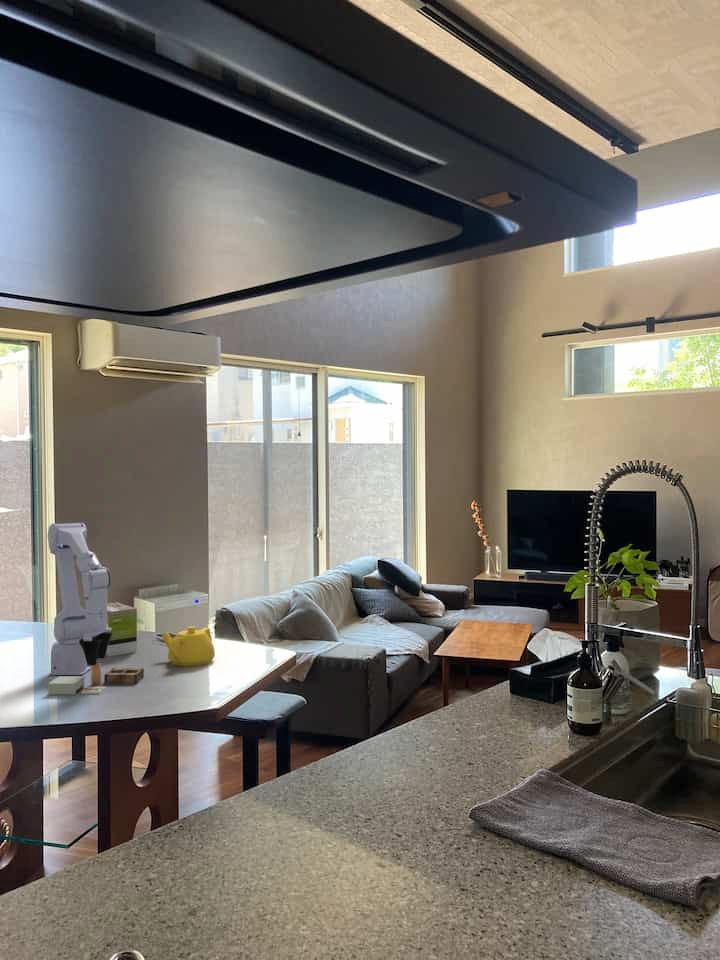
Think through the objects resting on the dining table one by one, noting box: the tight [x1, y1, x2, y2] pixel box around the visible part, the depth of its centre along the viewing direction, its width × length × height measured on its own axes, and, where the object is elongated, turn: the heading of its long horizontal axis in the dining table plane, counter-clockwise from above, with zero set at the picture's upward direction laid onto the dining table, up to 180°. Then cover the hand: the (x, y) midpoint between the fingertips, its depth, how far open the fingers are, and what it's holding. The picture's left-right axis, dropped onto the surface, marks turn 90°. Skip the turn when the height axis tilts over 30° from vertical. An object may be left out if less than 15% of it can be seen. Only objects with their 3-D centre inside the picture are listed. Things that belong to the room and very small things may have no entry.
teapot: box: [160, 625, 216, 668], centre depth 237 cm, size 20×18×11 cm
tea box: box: [105, 602, 138, 657], centre depth 250 cm, size 15×10×15 cm
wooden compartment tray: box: [104, 667, 145, 685], centre depth 214 cm, size 9×7×2 cm
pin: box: [90, 661, 102, 687], centre depth 210 cm, size 2×2×6 cm
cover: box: [48, 675, 86, 696], centre depth 203 cm, size 7×7×3 cm
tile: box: [80, 686, 107, 695], centre depth 203 cm, size 5×5×1 cm
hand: (96, 661), depth 210 cm, fingers open, 7 cm apart
